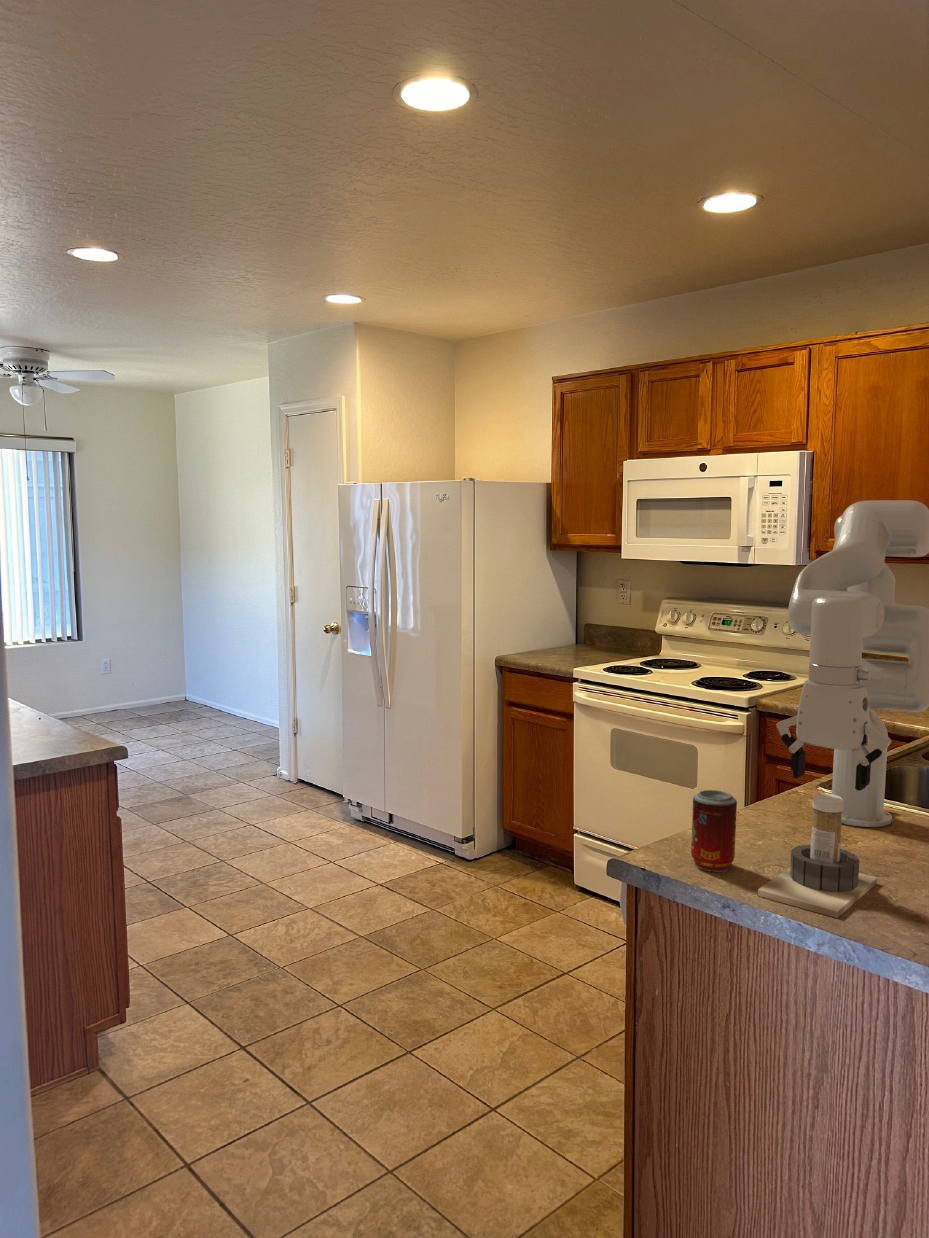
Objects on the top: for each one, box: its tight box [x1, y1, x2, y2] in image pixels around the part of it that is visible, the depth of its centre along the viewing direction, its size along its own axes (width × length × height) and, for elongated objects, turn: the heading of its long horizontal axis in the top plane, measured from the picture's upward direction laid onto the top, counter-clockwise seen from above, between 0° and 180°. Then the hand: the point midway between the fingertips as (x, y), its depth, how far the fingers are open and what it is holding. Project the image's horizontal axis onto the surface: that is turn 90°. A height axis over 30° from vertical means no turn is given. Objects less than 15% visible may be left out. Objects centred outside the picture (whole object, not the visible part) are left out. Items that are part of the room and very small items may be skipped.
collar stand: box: [757, 843, 878, 919], centre depth 143 cm, size 18×12×5 cm, turn 139°
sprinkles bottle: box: [810, 793, 844, 864], centre depth 144 cm, size 5×5×14 cm
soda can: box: [690, 789, 738, 873], centre depth 152 cm, size 7×7×12 cm
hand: (829, 782), depth 143 cm, fingers open, 9 cm apart
